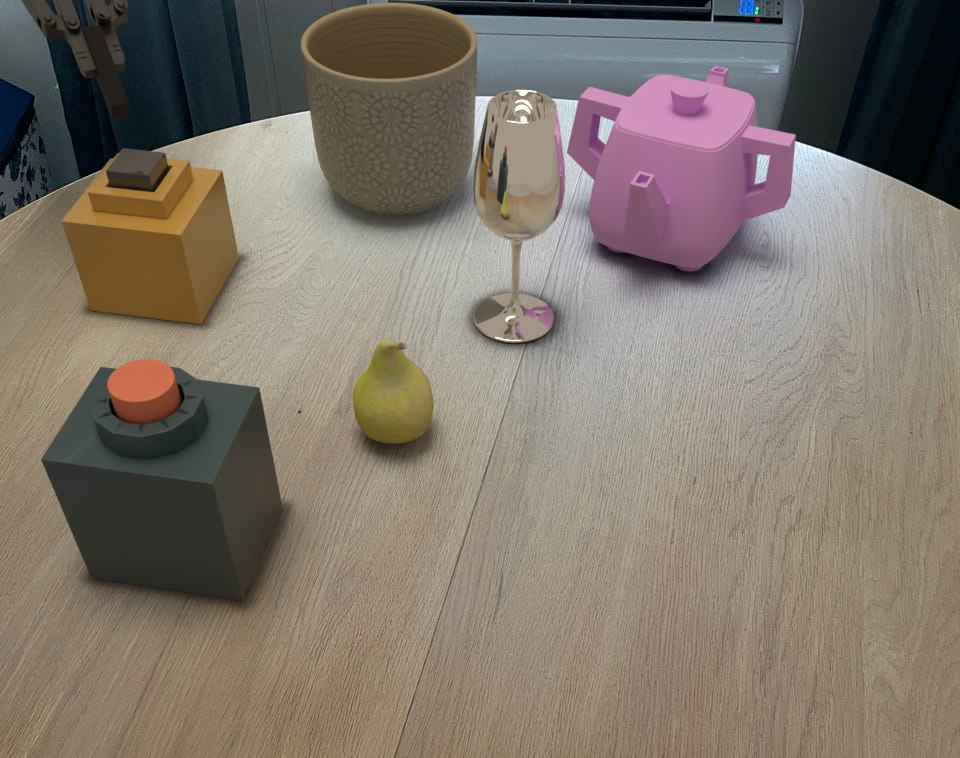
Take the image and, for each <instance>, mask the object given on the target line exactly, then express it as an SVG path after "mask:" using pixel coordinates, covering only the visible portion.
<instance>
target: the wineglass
mask: <svg viewBox="0 0 960 758" xmlns="http://www.w3.org/2000/svg"><path fill="white" fill-rule="evenodd" d="M479 136H480V137H479V141H478V146H477V151H476V157H475V161H474V162H475V163H474V169H473V170H474V171H473V178H472V179H473V180H472V194H473V204H474V207H475V211H476V213H477V216H478V217H479V219H480V220H481V221H482V223H483V224H484V225H485V227H486V228H487V229H488V230H489V231H490V232H492V233H493V234H495V235H496V236H498V237H499V238H501V239H503V240H506V241H509V242H510V248H511V278H510V279H511V281H510V282H511V285H510V292H506V293H500V294H499V293H498V294H496V295H492V296H490V297H488V298H486V299H484V300H483V301H481V302H480V303H479V304H478V305H477V306H476V308H475V310H474V313H473V322H474V325H475V327H476V328H477V330H478V331H479V332H480V333H482V335H485V336H487V337H488V338H489V339H492V340H494V341H498V342H503V343H508V344H509V343H510V344H521V343H522V344H523V343H528V342H532V341H536V340H538V339H540V338H542V337H544V336H545V335H547V334H548V333H549V331H551V329H552V327H553V325H554V321H555V316H554V311H553V310H552V308H551V307H550V306H549V305H548V303H546V302H545V301H543V300H542V299H540V298H538V297H536V296H533V295H530V294H526V293H520V291H519V290H520V287H519V286H520V267H521V252H522V249H523V244H524V242H526V241H530V240H533V239H535V238H537V237H538V236H540V235H542V234H544V233H545V232H547V231H548V229H550V227H551V226H552V225H553V224H554V223H555V221H557V219H558V218H559V215H560V213H561V210H562V209H563V205H564V199H565V193H566V166H565V157H564V149H563V139H562V132H561V126H560V121H559V114H558V107H557V104H556V102H555V100H554V99H553V98H551V96H549V95H548V94H544V93H542V92H539V91H535V90H529V89H512V90H506V91H503V92H500V93H498V94H495V95H494V96H493V97H491V98H490V99H489V101H488V102H487V106H486V111H485V115H484V119H483V123H482V128H481V132H480V135H479Z"/></svg>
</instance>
